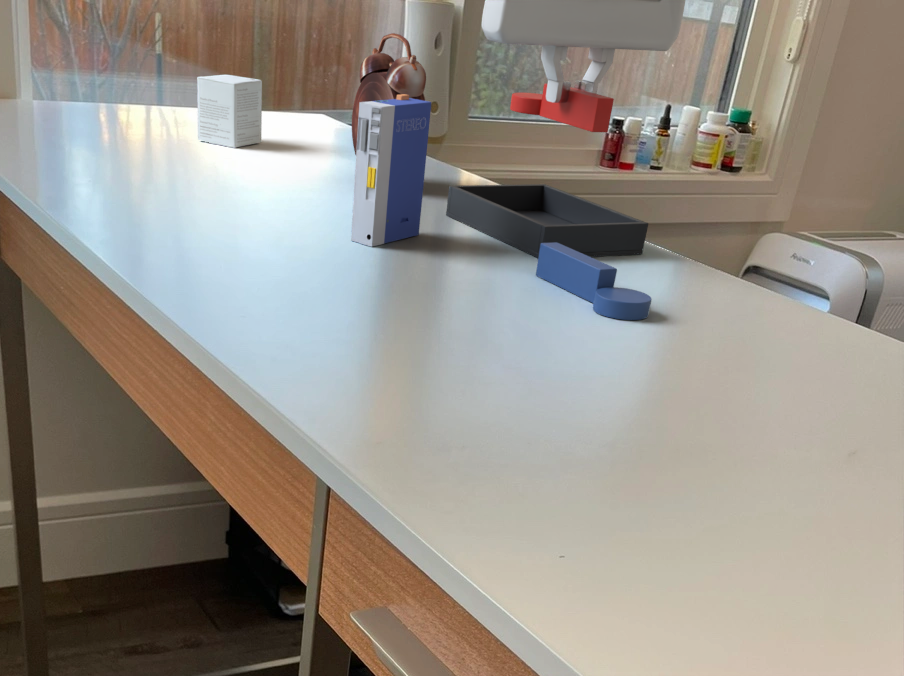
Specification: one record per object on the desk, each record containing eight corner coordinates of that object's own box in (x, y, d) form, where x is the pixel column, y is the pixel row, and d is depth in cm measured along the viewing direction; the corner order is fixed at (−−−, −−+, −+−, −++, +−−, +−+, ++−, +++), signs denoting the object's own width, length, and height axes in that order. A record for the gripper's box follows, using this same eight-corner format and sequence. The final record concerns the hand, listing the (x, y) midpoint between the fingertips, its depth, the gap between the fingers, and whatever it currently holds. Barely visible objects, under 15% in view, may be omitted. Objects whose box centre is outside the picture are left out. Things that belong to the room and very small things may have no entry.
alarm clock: (425, 193, 127) (440, 40, 119) (388, 194, 125) (401, 38, 116) (379, 173, 135) (390, 29, 126) (344, 174, 133) (352, 27, 124)
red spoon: (620, 132, 104) (626, 98, 103) (579, 132, 103) (585, 97, 101) (539, 108, 114) (544, 77, 113) (501, 107, 112) (505, 75, 111)
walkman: (396, 229, 111) (407, 93, 104) (419, 235, 110) (432, 97, 103) (348, 240, 106) (356, 97, 99) (371, 246, 105) (381, 102, 98)
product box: (225, 136, 148) (225, 73, 144) (262, 143, 146) (263, 79, 142) (196, 141, 144) (195, 76, 140) (234, 148, 142) (235, 82, 137)
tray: (642, 254, 110) (648, 223, 109) (540, 259, 106) (545, 226, 104) (540, 212, 123) (545, 184, 122) (445, 215, 119) (449, 185, 117)
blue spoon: (522, 276, 100) (527, 243, 98) (564, 273, 102) (569, 241, 100) (614, 322, 90) (621, 286, 89) (659, 318, 92) (667, 283, 90)
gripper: (519, -84, 92) (495, 105, 100) (710, -65, 100) (673, 109, 108) (480, -87, 96) (460, 94, 104) (665, -68, 105) (633, 99, 113)
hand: (570, 102), depth 106 cm, fingers closed on red spoon, 2 cm apart
